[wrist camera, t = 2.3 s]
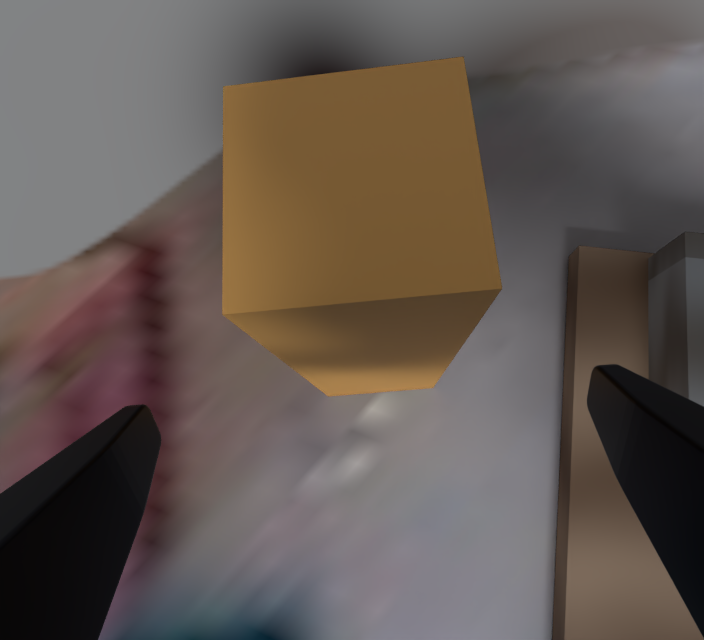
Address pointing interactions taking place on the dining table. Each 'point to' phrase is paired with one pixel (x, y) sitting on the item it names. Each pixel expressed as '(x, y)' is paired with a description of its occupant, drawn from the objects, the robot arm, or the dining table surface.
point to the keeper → (588, 452)
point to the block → (357, 223)
